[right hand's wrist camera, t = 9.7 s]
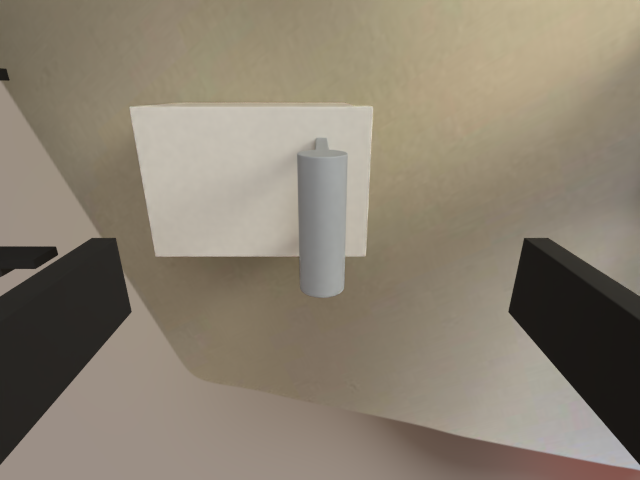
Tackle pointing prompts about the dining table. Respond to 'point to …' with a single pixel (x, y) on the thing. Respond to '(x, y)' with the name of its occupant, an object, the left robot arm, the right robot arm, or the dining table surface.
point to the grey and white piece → (258, 184)
